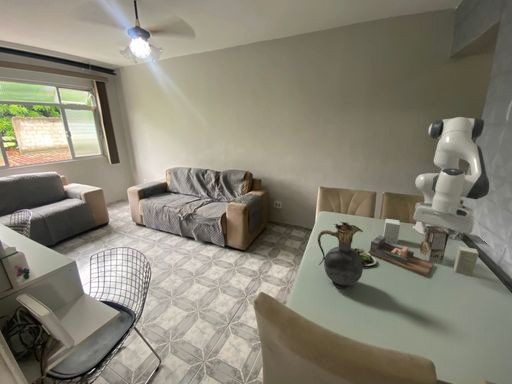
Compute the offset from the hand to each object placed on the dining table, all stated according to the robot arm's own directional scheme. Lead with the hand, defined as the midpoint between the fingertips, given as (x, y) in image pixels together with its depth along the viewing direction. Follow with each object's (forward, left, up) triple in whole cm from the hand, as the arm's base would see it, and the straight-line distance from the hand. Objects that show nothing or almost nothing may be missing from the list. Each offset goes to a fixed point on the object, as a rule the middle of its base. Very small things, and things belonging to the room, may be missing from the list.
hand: (438, 235), depth 97 cm
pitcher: (+39, -25, -19) cm, 51 cm away
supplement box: (-19, -24, -19) cm, 36 cm away
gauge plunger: (+1, -13, -17) cm, 22 cm away
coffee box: (-15, -3, -19) cm, 24 cm away
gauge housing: (0, -13, -19) cm, 23 cm away
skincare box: (-11, +10, -19) cm, 24 cm away
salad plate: (+15, -28, -20) cm, 38 cm away
